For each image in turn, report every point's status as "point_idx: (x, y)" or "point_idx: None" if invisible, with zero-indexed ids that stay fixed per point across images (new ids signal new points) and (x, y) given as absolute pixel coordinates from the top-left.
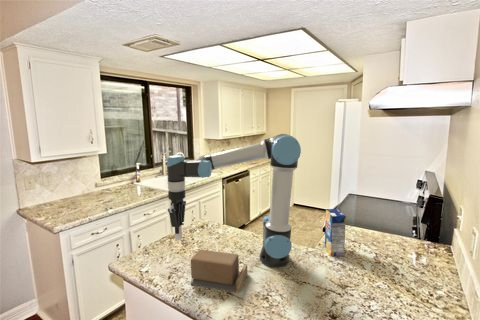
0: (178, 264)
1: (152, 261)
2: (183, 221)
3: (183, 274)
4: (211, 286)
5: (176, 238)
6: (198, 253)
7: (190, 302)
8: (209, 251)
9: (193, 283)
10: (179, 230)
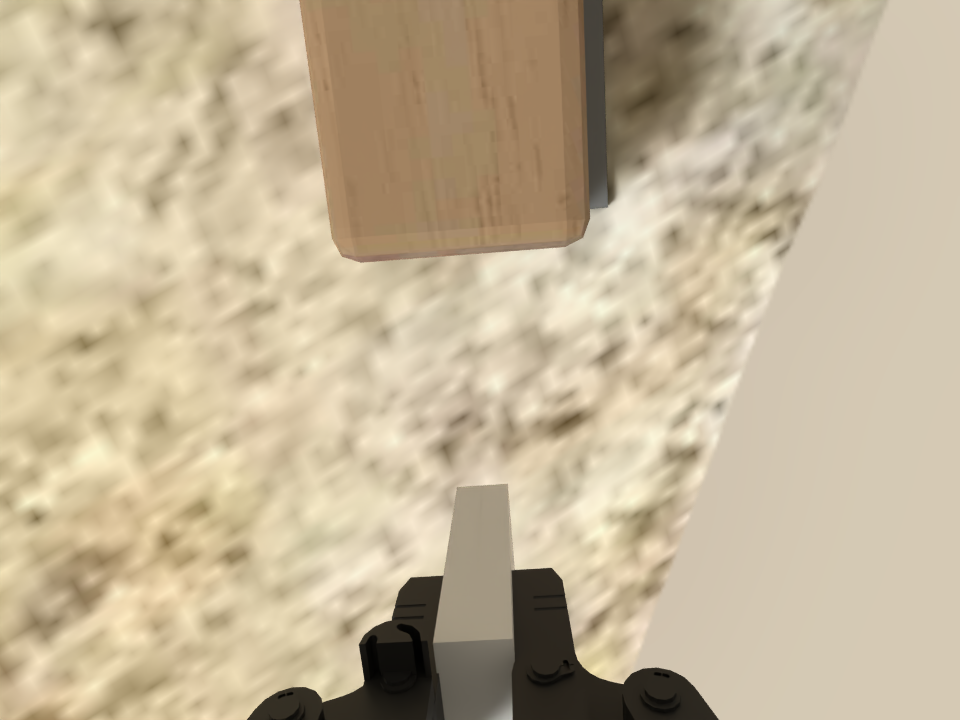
0: (389, 454)
1: None
2: (300, 700)
3: (501, 339)
4: (599, 2)
5: (513, 557)
6: (442, 209)
7: (811, 88)
8: (346, 92)
9: (604, 183)
10: (513, 592)
